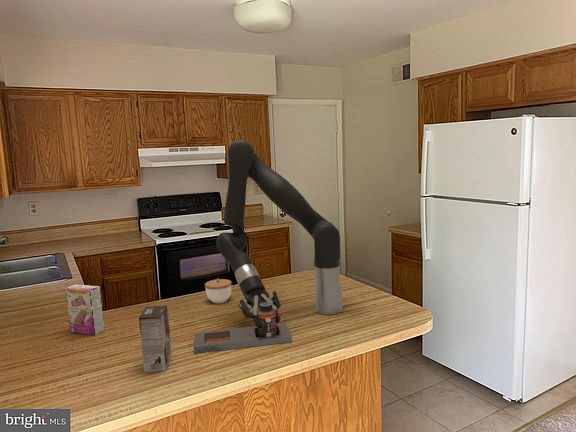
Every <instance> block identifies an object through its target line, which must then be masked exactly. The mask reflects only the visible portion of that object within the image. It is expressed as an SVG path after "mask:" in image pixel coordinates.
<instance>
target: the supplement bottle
mask: <svg viewBox="0 0 576 432" xmlns="http://www.w3.org/2000/svg"><path fill="white" fill-rule="evenodd" d="M272 303H273V302H272ZM272 303H270V302H263V303H261V304H260V308H259V309H257V315H258V316H259V318H260V320H261V322H262V324H263V326H262V328H260V329H259V328H258V334H257V335H258V337H257V338H260V337H269V336H277V332H276V313H275V310H274V309H273V308H272Z"/></svg>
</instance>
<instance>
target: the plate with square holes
mask: <svg viewBox="0 0 576 432" xmlns="http://www.w3.org/2000/svg"><path fill="white" fill-rule="evenodd" d="M277 332H278V335H276V336H269V337H260V338H259V337H257V336H256V335H258V327H256V325H254V326H246V327H235V328H228V329H227V328H226V329H218V330H208V331H199V332H195V334H194V335H195V336H194V343H193V353H194V354H201V353H209V352H218V351H226V350H236V349H245V348H254V347H262V346H268V345H269V346H270V345H279V344H288V343H292V342H293V338H292V337H293V336H292V333H291V331H290V329H289V327H288V324H287V322H285V323H284V322H282V323H277V324H276V333H277Z"/></svg>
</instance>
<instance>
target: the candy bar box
mask: <svg viewBox="0 0 576 432" xmlns="http://www.w3.org/2000/svg"><path fill="white" fill-rule="evenodd" d="M64 289H65V298H66V305H67V307H66V308H67V313H68V321H69V330H70V333H72V334H73V333H74V334H81V335H88V336H89V335H90V336H97V334H98V335H99V334H101V333H103V332H104V331H105V330H106V329H105V321H104V311H103V303H102V296H101V295H102V293H101V286H99V285H86V284H77V283H76V284H74V285H73V284H72V285H70V286H67V287H65V288H64Z"/></svg>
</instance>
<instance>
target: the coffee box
mask: <svg viewBox="0 0 576 432" xmlns="http://www.w3.org/2000/svg"><path fill="white" fill-rule="evenodd" d="M169 320H170V319H169V311H168V305H167V304H166V305H150V306H145V308H144V309H143V311H142V312H141V313H140V316H139V317H138V322H139V323H138V324H139V333H140V342H141V344H140V345H141V353H142V363H143V372H144V373H151V372H152V373H153V372H163V371H164V372H165V371H167V369H168V367H169V365H170V361H171V360H172V356H173V353H172V343H171V334H170V333H171V332H170V331H171V330H170V323H169V322H170V321H169Z"/></svg>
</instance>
